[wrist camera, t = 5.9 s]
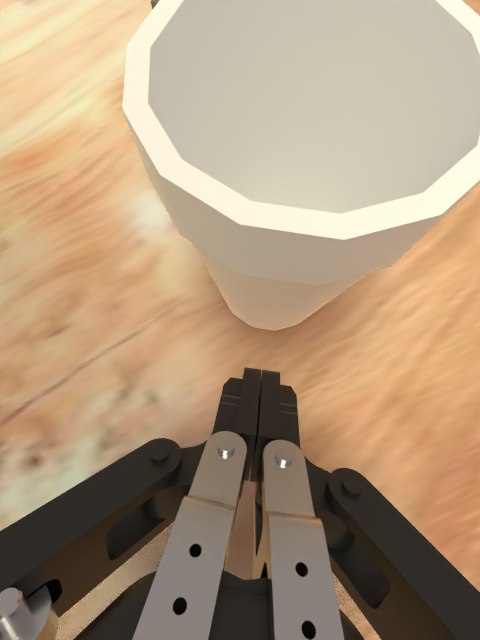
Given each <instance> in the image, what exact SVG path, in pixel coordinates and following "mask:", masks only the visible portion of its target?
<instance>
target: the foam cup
mask: <svg viewBox="0 0 480 640" xmlns="http://www.w3.org/2000/svg"><path fill="white" fill-rule="evenodd" d="M122 110H123V112H124V115H125V117H126V120H127V122H128V125H129V128H130V130H131V133H132V135H133V138H134V140H135V143H136V145H137V148H138V151H139V153H140V156H141V158H142V161H143V163H144V166H145V168H146V171H147V174H148V176H149V179H150V181H151V183H152V185H153V186H154V188H155V190H156V192H157V194H158V195H159V197H160V199H161V201H162V202H163V204H164V206H165V208H166V210H167V211H168V213H169V215H170V217H171V219H172V220H173V222H174V224H175V226H176V228H177V229H178V231H179V233H180V234H181V235H182V236H184V237H185V238H187V239H188V240H190V241H191V242H192V243H193V245H194V247H195V248H196V250H197V252H198V254H199V255H200V257H201V259H202V261H203V263H204V264H205V266H206V268H207V270H208V271H209V273H210V275H211V277H212V279H213V280H214V282H215V284H216V286H217V288H218V289H219V291H220V293H221V295H222V296H223V298H224V300H225V302H226V303H227V305H228V307H229V309H230V311H231V312H232V314H233V315H235V316H236V317H238V318H239V319H241V320H242V321H243V322H245V323H246V324H248V325H249V326H251V327H254V328H260V329H266V330H272V331H277V330H280V329H284V328H288V327H291V326H295V325H298V324H299V323H301V322H302V321H304V320H305V319H306V318H308V317H309V316H310V315H312V314H313V313H315V312H316V311H317V310H319V309H320V308H322V307H323V306H324V305H326V304H327V303H328V302H330V301H331V300H333V299H334V298H335V297H337V296H338V295H340V294H341V293H342V292H344V291H345V290H346V289H348V288H349V287H351V286H352V285H353V284H355V283H356V282H358V281H359V280H360V279H362V278H363V277H364V276H366V275H367V274H369V273H370V272H372V271H375V270H379V269H383V268H386V267H390V266H392V265H393V264H394V263H395V262H396V261H397V260H398V259H399V258H400V257H401V256H403V255H404V254H405V253H406V252H407V251H408V250H409V249H410V248H411V247H412V246H413V245H415V244H416V243H417V242H418V241H419V240H420V239H421V238H422V237H423V236H424V235H426V234H427V233H428V232H429V231H430V230H431V229H432V228H433V227H434V226H435V225H437V224H438V223H439V222H440V221H441V220H442V219H443V218H444V217H445V216H446V215H447V214H448V213H449V212H450V211H451V210H452V209H453V208H454V207H455V206H456V205H457V204H458V203H459V202H460V201H461V200H462V199H463V198H464V197H465V196H466V195H467V194H468V193H469V192H470V191H471V190H472V189H473V188H474V187H475V186H476V185H477V184H478V183H479V182H480V16H479V15H478V14H476V13H475V12H474V11H473V10H472V9H471V8H470V7H469V6H467V5H466V4H465V3H464V2H463V1H462V0H159V2H158V3H157V4H156V6H155V7H154V9H153V10H152V11H151V13H150V14H149V15H148V17H147V18H146V19H145V21H144V22H143V24H142V25H141V26H140V28H139V29H138V30H137V32H136V33H135V34H134V36H133V37H132V39H131V40H130V41H129V43H128V44H127V51H126V65H125V79H124V92H123V106H122Z"/></svg>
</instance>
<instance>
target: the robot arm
mask: <svg viewBox="0 0 480 640" xmlns="http://www.w3.org/2000/svg"><path fill="white" fill-rule="evenodd" d="M260 382H261V383H260ZM297 414H298V411H297V397H296V394H295V392H294V391H293V389H292V387H291V386H285V385H280V372H273V371H267V370H263V371H262V377H261V370H259V369H252V368H246V367H245V369H244V375H243V379H238V378H230V379H229V380H228V381H227V382H226V383H225V384H224V386H223V391H222V396H221V399H220V403H219V408H218V412H217V416H216V420H215V425H214V429H213V432H212V435H211V436H210V438H209V439H208V440H207V441H206V442H204V443H203V444H201V445H198V446H195V447H189V448H181V449H180V447H179V445H178V444H177V443H176V442H174V441H172V440H170V439H166V438H159V439H154V440H151V441H149V442H147V443H146V444H144V445H142V446H141V447H139V448H137V449H136V450H134V451H132V452H131V453H129V454H127V455H126V456H124V457H123V458H121V459H119V460H118V461H116V462H114V463H113V464H111V465H109V466H108V467H106V468H104V469H103V470H101V471H99V472H98V473H96V474H94V475H93V476H91V477H89V478H88V479H86V480H84V481H83V482H81V483H79V484H78V485H76V486H75V487H73V488H71V489H70V490H68V491H66V492H65V493H63V494H61V495H60V496H58V497H56V498H55V499H53V500H51V501H50V502H48V503H46V504H45V505H43V506H41V507H40V508H38V509H36V510H35V511H33V512H31V513H30V514H28V515H27V516H25V517H23V518H22V519H20V520H18V521H17V522H15V523H13V524H12V525H10V526H8V527H7V528H5V529H3V530H2V531H0V640H55V637H56V634H57V630H58V618H59V617H60V616H61V615H63V614H64V613H65V612H66V611H67V610H69V609H70V608H71V607H72V606H73V605H75V604H76V603H77V602H78V601H79V600H81V599H82V598H83V597H84V596H85V595H87V594H88V593H89V592H90V591H91V590H92V589H94V588H95V587H96V586H97V585H98V584H100V583H101V582H102V581H103V580H104V579H106V578H107V577H108V576H109V575H110V574H112V573H113V572H114V571H115V570H116V569H117V568H119V567H120V566H121V565H122V564H123V563H125V562H126V561H127V560H128V559H129V558H131V557H132V556H133V555H134V554H135V553H137V552H138V551H139V550H140V549H141V548H142V547H144V546H145V545H146V544H147V543H148V542H150V541H151V540H152V539H153V538H154V537H156V536H157V535H158V534H159V533H160V532H162V531H163V530H164V529H165V528H166V527H167V526H169V525H170V524H171V523H172V522H173V521H174V520H175V522H174V525H173V527H172V530H171V533H170V536H169V539H168V541H167V544H166V547H165V550H164V553H163V555H162V558H161V561H160V564H159V567H158V569H157V571H155V572H152V573H150V574H148V575H146V576H144V577H142V578H141V579H139V580H137V581H136V582H135V583H133V584H132V585H131V586H129V587H128V588H127V589H126V590H125V591H124V592H123V593H122V594H121V595H120V596H119V597H117V598H116V599H115V600H114V601H113V602H112V603H111V604H110V605H109V606H108V607H107V608H106V609H105V610H104V611H103V612H102V613H101V614H100V615H99V616H98V617H97V618H96V619H94V620H93V621H92V622H91V623H90V624H89V625H88V626H87V627H86V628H85V629H84V630H83V631H82V632H81V633H80V634H79V635H78V636H77V637H76V638H75V639H74V640H364V638H363V637H362V635H361V634H360V632H359V631H358V629H357V628H356V627H355V626H354V624H353V623H352V622H351V621H350V619H349V618H348V617H347V616H346V615H345V614H344V613H343V612H342V611H341V610H340V609H339V608H338V603H337V597H336V592H335V587H334V581H333V576H332V571H333V573H334V574H335V575H336V577H337V578H338V580H339V581H340V582H341V584H342V585H343V587H344V588H345V589H346V591H347V592H348V594H349V595H350V596H351V598H352V599H353V601H354V602H355V603H356V605H357V606H358V607H359V609H360V610H361V612H362V613H363V614H364V616H365V617H366V619H367V620H368V621H369V623H370V624H371V626H372V627H373V628H374V630H375V631H376V633H377V634H378V635H379V637H380V638H381V639H382V640H480V592H479V591H478V590H477V589H476V588H475V587H474V586H473V585H472V584H471V583H470V582H469V581H468V580H467V579H466V578H465V577H464V576H463V575H462V574H461V573H460V572H459V571H458V570H457V569H456V568H455V567H454V566H453V565H452V564H451V563H450V562H449V561H448V560H447V559H446V558H445V557H444V556H443V555H442V554H441V553H440V552H439V551H438V550H437V549H436V548H435V547H434V546H433V545H432V544H431V543H430V542H429V541H428V540H427V539H426V538H425V537H424V536H423V535H422V534H421V533H420V532H419V531H418V530H417V529H416V528H415V527H414V526H413V525H412V524H411V523H410V522H409V521H408V520H407V519H406V518H405V517H404V516H403V515H402V514H401V513H400V512H399V511H398V510H397V509H396V508H395V507H394V506H393V505H392V504H391V503H390V502H389V501H388V500H387V499H386V498H385V497H384V496H383V495H382V494H381V493H380V492H379V491H378V490H377V489H376V488H375V487H374V486H373V485H372V484H371V483H370V482H369V481H368V480H367V479H366V478H365V477H364V476H363V475H361V474H360V473H358V472H356V471H354V470H352V469H348V468H339V469H336V470H334V471H333V472H332V473H330V472H328V471H325V470H323V469H321V468H319V467H317V466H315V465H314V464H312V463H311V462H310V461H308V460H307V458H306V457H305V456H304V454H303V452H302V451H301V448H300V440H299V426H298V415H297ZM251 462H252V464H251ZM250 467H251V475H250V481H254V482H256V491H255V497H254V503H253V543H254V560H253V574H252V580H243V579H240V578H238V577H236V576H234V575H232V574H230V573H228V572H227V571H225V569H226V564H227V558H228V553H229V548H230V543H231V538H232V533H233V528H234V522H235V517H236V512H237V507H238V502H239V499H240V497H241V495H242V489H243V483H244V480H247V481H248V479H249V473H250ZM331 570H332V571H331Z"/></svg>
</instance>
